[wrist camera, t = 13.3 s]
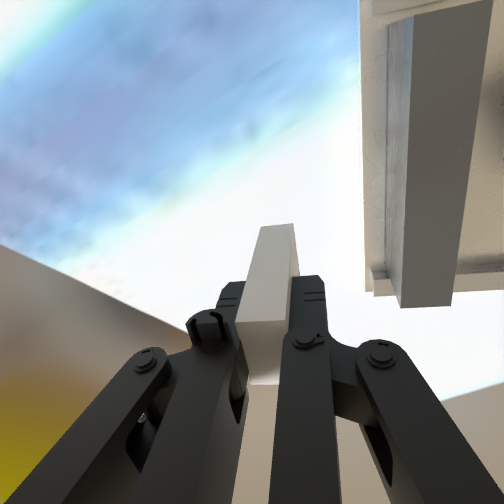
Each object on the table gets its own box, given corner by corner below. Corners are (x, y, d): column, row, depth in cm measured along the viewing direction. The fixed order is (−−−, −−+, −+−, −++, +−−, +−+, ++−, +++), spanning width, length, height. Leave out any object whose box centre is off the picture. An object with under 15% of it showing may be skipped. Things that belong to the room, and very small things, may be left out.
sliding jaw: (388, 23, 18) (414, 15, 14) (449, 10, 18) (494, -3, 13) (385, 266, 26) (400, 308, 22) (426, 263, 25) (450, 306, 21)
